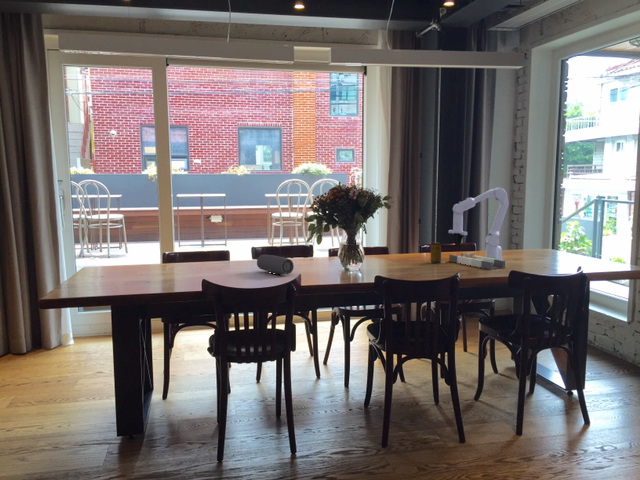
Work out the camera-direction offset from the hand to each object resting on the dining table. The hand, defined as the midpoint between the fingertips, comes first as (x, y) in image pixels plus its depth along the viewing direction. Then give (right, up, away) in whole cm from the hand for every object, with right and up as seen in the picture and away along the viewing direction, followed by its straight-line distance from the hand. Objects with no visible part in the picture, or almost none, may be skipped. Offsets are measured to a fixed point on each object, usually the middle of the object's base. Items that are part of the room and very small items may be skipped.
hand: (457, 246), depth 329 cm
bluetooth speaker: (-108, -15, -33) cm, 114 cm away
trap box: (+7, -11, -13) cm, 18 cm away
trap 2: (+14, -12, -25) cm, 31 cm away
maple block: (+5, -8, -8) cm, 12 cm away
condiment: (-14, -10, -5) cm, 18 cm away
